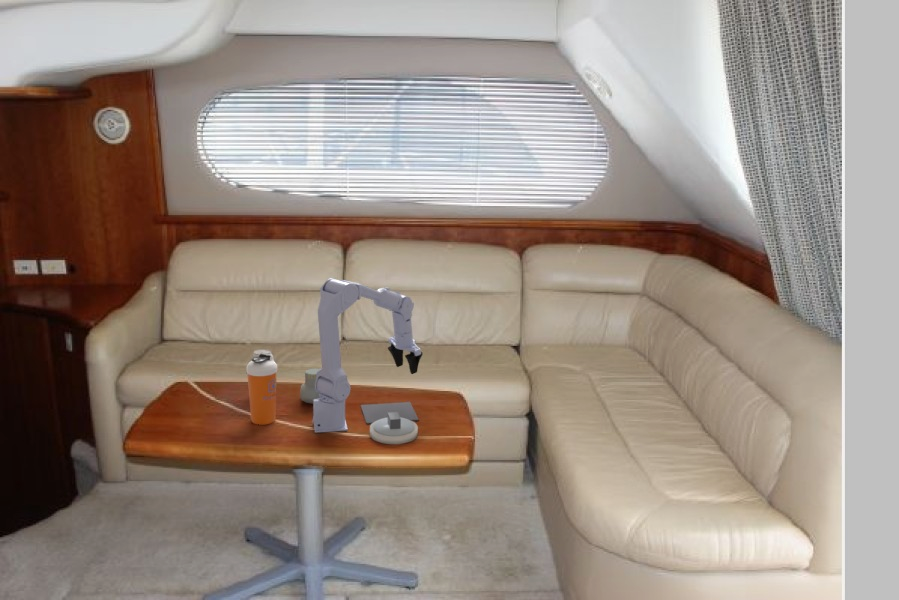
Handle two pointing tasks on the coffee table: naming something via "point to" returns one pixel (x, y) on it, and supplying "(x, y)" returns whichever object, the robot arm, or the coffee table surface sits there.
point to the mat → (388, 411)
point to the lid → (393, 425)
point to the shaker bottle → (262, 389)
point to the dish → (393, 439)
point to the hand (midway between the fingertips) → (406, 369)
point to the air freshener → (309, 387)
